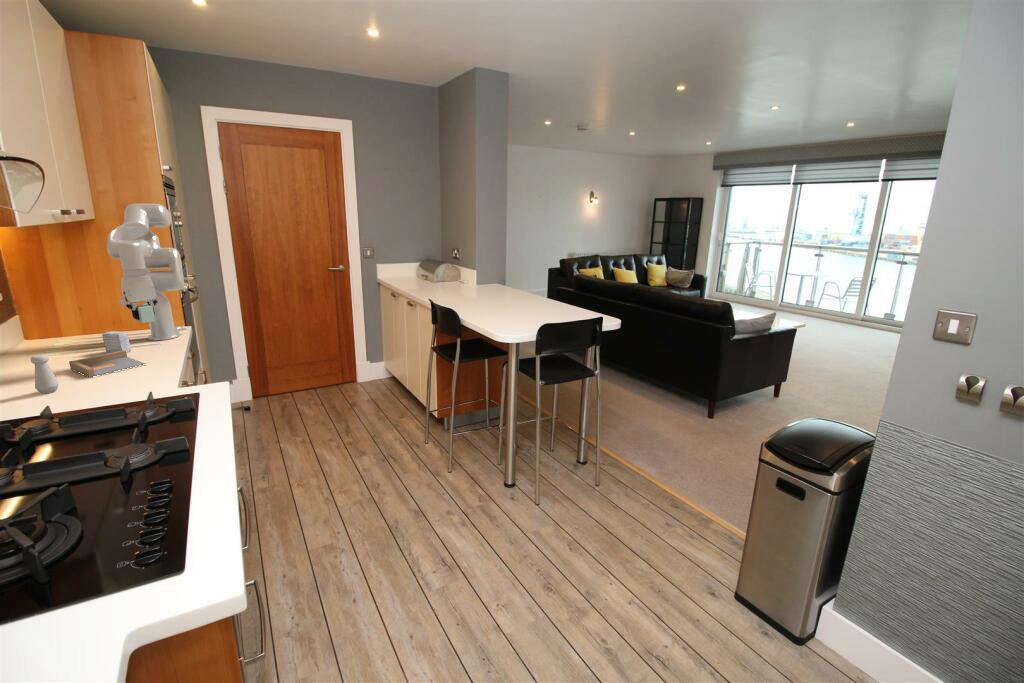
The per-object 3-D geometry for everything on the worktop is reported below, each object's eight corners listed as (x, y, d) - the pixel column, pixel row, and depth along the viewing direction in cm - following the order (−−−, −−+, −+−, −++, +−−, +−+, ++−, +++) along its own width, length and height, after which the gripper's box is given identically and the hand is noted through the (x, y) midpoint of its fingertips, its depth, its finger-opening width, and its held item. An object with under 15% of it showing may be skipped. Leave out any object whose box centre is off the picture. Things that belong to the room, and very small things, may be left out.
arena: (125, 357, 202) (124, 350, 201) (146, 365, 193) (144, 357, 192) (70, 369, 187) (68, 361, 186) (89, 378, 178) (87, 369, 177)
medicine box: (131, 350, 211) (127, 331, 209) (122, 353, 207) (118, 334, 205) (115, 350, 212) (110, 331, 210) (105, 353, 208) (101, 333, 206)
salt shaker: (53, 387, 169) (44, 352, 165) (63, 390, 167) (54, 353, 163) (32, 393, 163) (22, 356, 160) (42, 396, 161) (32, 358, 158)
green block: (147, 318, 202) (144, 304, 200) (155, 320, 198) (152, 306, 197) (134, 320, 198) (131, 306, 197) (142, 322, 195) (139, 308, 193)
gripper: (154, 270, 202) (163, 313, 207) (105, 275, 188) (115, 321, 193) (163, 271, 198) (171, 315, 203) (113, 276, 184) (124, 323, 189)
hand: (144, 317), depth 198 cm, fingers closed on green block, 4 cm apart
